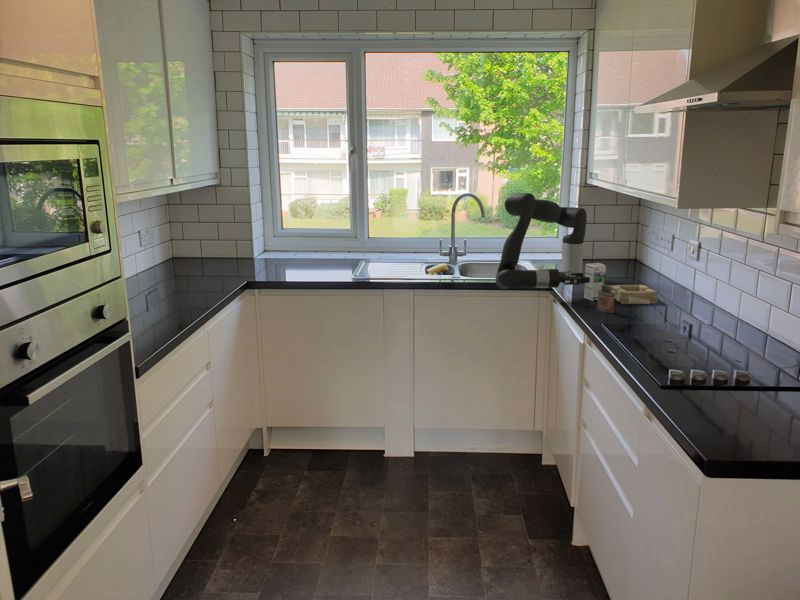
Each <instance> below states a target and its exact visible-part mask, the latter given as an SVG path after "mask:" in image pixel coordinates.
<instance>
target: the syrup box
mask: <svg viewBox="0 0 800 600" xmlns="http://www.w3.org/2000/svg"><path fill="white" fill-rule="evenodd" d="M606 268H607V266H606V264H604V263H601V262H596V263H595V262H594V263H585V272H584V273H585V275H584V277H589V278H590V282H589V283H584V292H583V293H584V295H583V297H584V299H585V298H586V300H587V299H588V301H590V300H591V301H590V302H595V301H594V300H597V301H598V290H602V289H601V285H606Z"/></svg>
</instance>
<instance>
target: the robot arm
mask: <svg viewBox="0 0 800 600" xmlns="http://www.w3.org/2000/svg"><path fill="white" fill-rule="evenodd" d="M504 208H505V211H506V212H507V213H508V214H509V215H511V216H513V217H519V219H518V222H517V224H516V225H515V227H514V229H513V230H511V232H510V234H509V235H508V236H507V238H506V239H505V241H504V243H503V248H502V251H501V255H500V262H499V266H498V268H497V271H496V275H495V284H496V286H497V287H498V288H499V289H501V290H502V289H503V290H505V289H509V288H512V287H513V288H515V287H516V288H517V287H521V288H525V289H527V288H528V289H529V288H539V289H540V288H541V289H549V288H550V289H551V288H552V289H556V288H559V286H560V284H561V283H562V284H564V285H565V286H567V285H568V286H576V285H578V286H579V285H581V284H585V283H589V282H590V278H589V277H585V276H584V273H583V272H582V271H583V257H584V256H583V255H584V240H585V236H586V230H587V229H586V228H587V221H588V220H587V219H588V216H587V211H586V209H585V208H582V207H573V206H560V205H559V204H558V203H557V202H555V201H551V200H548V199H537V198H535V195H533V194H532V193H531V192H517V193H511V194H509V195H508V196H507V197H506V198H505V201H504ZM532 219H533V220H536V221H539V222H543V223H548V224H554V223H555V224H557V225H560V226H562V227H564V228H572V232H571V233H570V234H566V235H563V236H562V247H561V248H562V249H561V250H562V251H561V266H560V270H559V269H557V268H541V269H540V268H539V269H525V270H521V269H516V267H517V265H518V264H519V260H520V256H521V255H520V254H521V251H522V246H523V243H524V240H525V237H526V234H527V231H528V229H529V227H530V225H531V224H530V223H531V222H532Z"/></svg>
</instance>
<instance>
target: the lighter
mask: <svg viewBox="0 0 800 600" xmlns="http://www.w3.org/2000/svg"><path fill="white" fill-rule="evenodd" d="M601 289H602V290H598V300H597V307H596V310H597V309H598V310H597V311H599V310H600V311H599V312H601V311H603V312H602V313H604V312H606V313H605V314H607V313H615V311H614V307H615V300H614V296H615V293H613V292H611V291H614V288H613V287H611V286H610V284H605V285H601Z"/></svg>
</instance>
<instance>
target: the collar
mask: <svg viewBox="0 0 800 600" xmlns="http://www.w3.org/2000/svg"><path fill="white" fill-rule="evenodd" d="M609 286H611V287H613V288H614V291H611V292H613V293H615V296H614V299H616V300H617V301H619V302H620V303H621V304H620V303H619V302H618V303H619V304H620V305H643V304H644V305H647V304H648V305H652V304H653V305H654V304H658V293H659V292H658V291H656V290H654V289H653V288H650V287H649V286H647V285H644V284H613V285H612V284H609ZM616 300H615V301H616ZM617 301H616V302H617Z"/></svg>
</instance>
